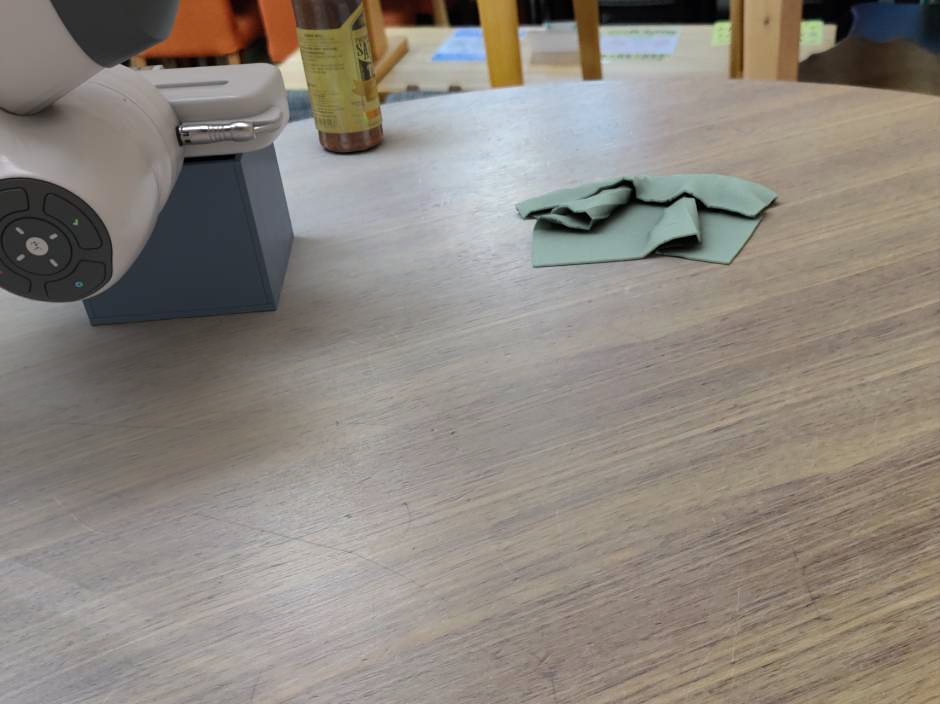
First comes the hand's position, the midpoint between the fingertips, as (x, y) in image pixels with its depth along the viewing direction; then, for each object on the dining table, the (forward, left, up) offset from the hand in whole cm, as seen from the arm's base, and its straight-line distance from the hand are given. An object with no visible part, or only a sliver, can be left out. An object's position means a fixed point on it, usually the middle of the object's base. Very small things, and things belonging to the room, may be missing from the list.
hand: (145, 78), depth 83 cm
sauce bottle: (+10, +28, -14) cm, 33 cm away
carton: (0, -1, -14) cm, 14 cm away
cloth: (+34, +3, -14) cm, 37 cm away
